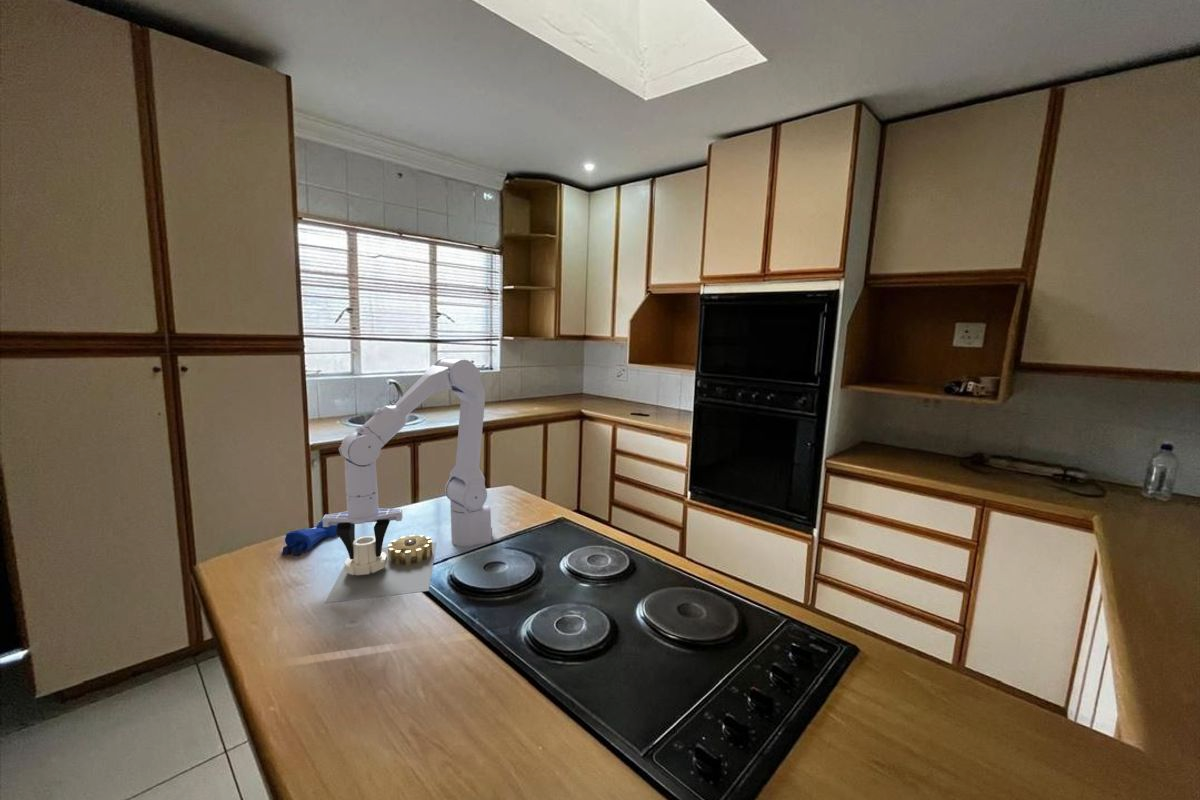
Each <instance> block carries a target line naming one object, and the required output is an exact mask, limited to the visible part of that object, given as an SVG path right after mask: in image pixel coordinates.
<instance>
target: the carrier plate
mask: <svg viewBox="0 0 1200 800" xmlns="http://www.w3.org/2000/svg"><path fill="white" fill-rule="evenodd" d="M436 548H437V542H432V555H430V558H429V559H428V560H425V559H424V560H422V563H419V564H417V563H412V564H411V565H409V566H406V564H401V565H400V566H398V565H395V562H394V563H390V562H389V558H388V546H386V547H385V546H382V552H385V553H386V554H387V564H386V566H385V567H384V568H382V569H380V570H378V571H376V572H374V573H371V572H370V574H364V575H356V574H355V575H351V574H349V573H347V572H345V565H344V566H343V568H342V569H341V571H340V573H339V576H337V579H336V581H335V582H334V584H333V587H332V588H331V590H330V592H329V594H328V596H327V598H326V600H325V602H324V604H330V603H339V602H340V603H341V602H346V601H348V602H349V601H356V600H362V599H363V600H365V599H371V598H380V597H388V596H389V597H390V596H398V595H405V594H406V595H407V594H414V593H422V592H424V593H425V592H429V591H430V586H431V585H430V584H431V579H432V573H433V567H434V561H435V555H436Z"/></svg>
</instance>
